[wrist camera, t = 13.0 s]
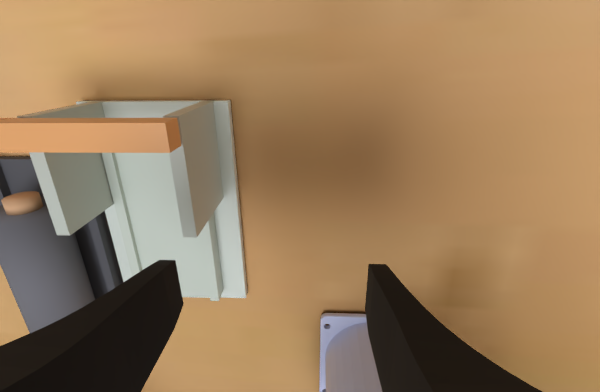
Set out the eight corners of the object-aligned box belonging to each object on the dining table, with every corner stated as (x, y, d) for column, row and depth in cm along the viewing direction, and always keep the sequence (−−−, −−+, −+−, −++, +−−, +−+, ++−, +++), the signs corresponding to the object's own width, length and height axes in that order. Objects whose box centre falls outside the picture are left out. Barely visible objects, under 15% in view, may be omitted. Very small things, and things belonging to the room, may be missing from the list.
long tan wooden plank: (181, 145, 14) (170, 152, 13) (-8, 145, 15) (-35, 152, 14) (177, 117, 14) (165, 122, 13) (-19, 118, 14) (-47, 123, 13)
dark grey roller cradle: (131, 305, 26) (122, 316, 25) (52, 303, 26) (41, 313, 25) (92, 156, 21) (80, 162, 20) (-3, 156, 22) (-20, 161, 21)
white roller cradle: (247, 292, 25) (228, 355, 20) (131, 289, 25) (82, 350, 20) (230, 99, 20) (198, 115, 14) (82, 100, 20) (-2, 116, 15)
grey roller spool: (112, 311, 26) (83, 353, 22) (59, 313, 26) (21, 356, 22) (74, 183, 22) (31, 209, 18) (11, 185, 22) (-45, 212, 18)
